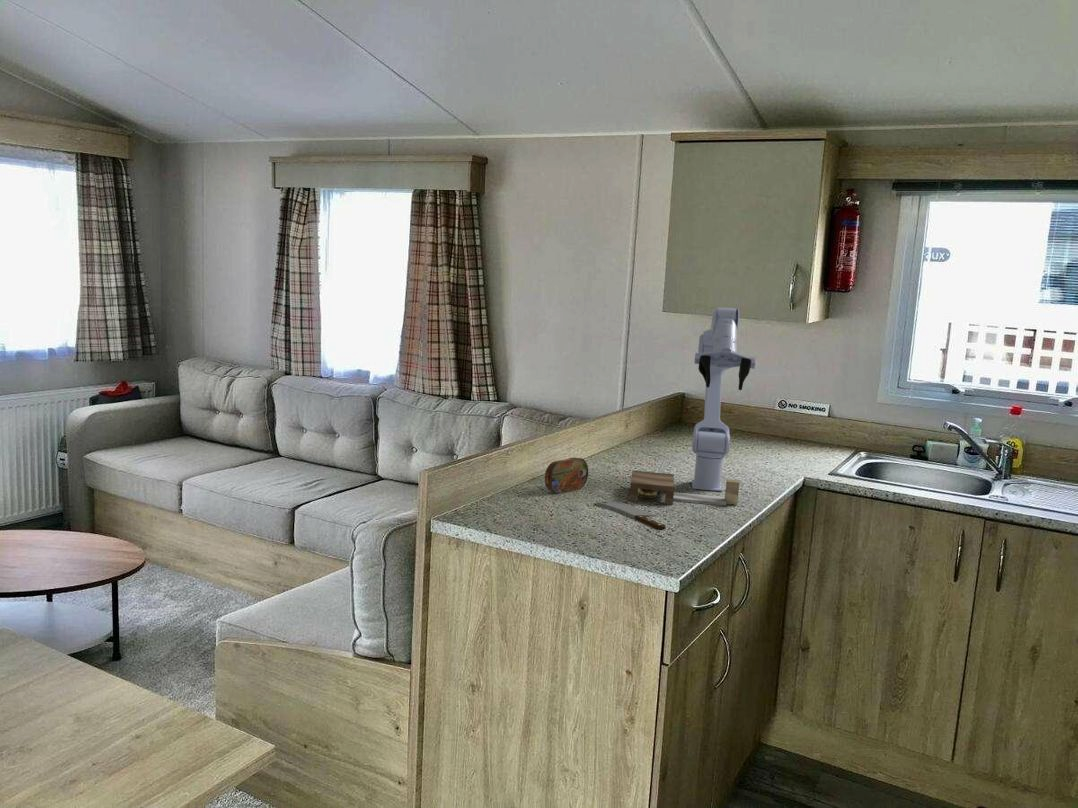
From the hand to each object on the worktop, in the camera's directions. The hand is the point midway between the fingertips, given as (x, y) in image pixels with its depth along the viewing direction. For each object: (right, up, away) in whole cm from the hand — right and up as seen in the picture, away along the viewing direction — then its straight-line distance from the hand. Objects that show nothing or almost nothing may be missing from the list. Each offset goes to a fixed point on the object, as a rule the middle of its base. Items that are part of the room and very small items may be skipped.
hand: (724, 386), depth 214 cm
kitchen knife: (-21, -32, +1) cm, 38 cm away
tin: (-38, -27, +20) cm, 50 cm away
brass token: (-16, -28, +20) cm, 38 cm away
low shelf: (-15, -28, +19) cm, 38 cm away
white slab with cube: (-2, -29, +18) cm, 34 cm away
